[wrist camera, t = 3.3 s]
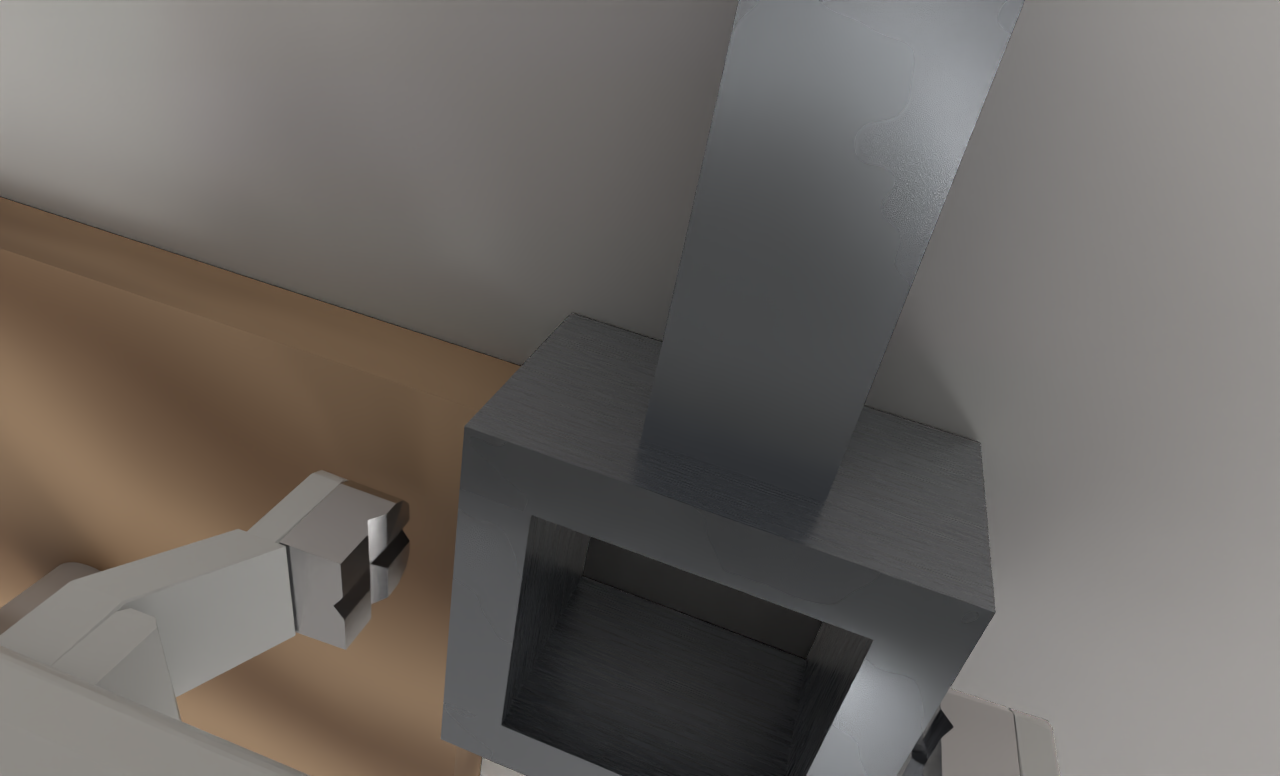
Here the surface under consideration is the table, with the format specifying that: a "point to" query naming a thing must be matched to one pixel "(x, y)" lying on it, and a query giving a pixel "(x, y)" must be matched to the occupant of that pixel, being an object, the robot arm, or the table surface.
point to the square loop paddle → (745, 441)
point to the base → (232, 468)
